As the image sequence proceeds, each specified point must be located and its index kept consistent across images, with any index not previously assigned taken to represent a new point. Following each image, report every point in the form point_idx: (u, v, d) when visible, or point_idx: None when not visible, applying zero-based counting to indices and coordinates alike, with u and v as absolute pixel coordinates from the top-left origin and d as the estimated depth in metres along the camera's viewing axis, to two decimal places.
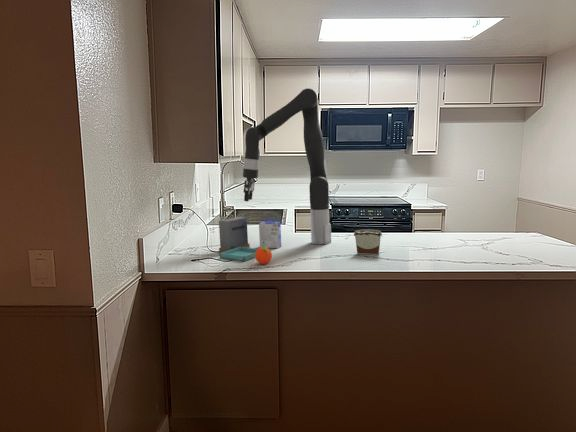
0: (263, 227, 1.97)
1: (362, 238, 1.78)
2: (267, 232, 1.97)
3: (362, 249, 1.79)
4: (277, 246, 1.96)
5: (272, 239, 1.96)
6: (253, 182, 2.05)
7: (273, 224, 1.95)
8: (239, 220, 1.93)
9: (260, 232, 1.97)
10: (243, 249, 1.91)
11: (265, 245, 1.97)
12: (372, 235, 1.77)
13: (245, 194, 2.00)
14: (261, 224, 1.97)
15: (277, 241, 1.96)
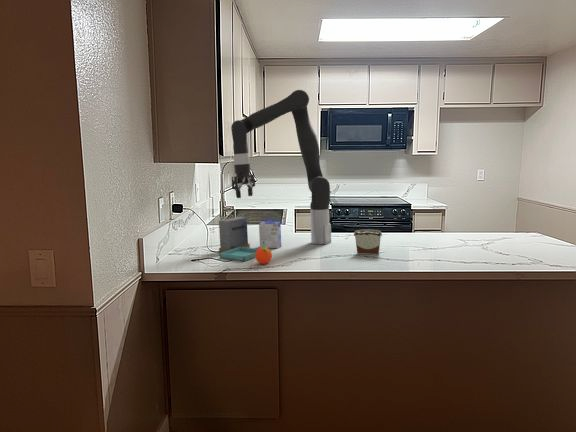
0: (263, 227, 1.97)
1: (362, 238, 1.78)
2: (267, 232, 1.97)
3: (362, 249, 1.79)
4: (277, 246, 1.96)
5: (272, 239, 1.96)
6: (246, 177, 1.96)
7: (273, 224, 1.95)
8: (239, 220, 1.93)
9: (260, 232, 1.97)
10: (243, 249, 1.91)
11: (265, 245, 1.97)
12: (372, 235, 1.77)
13: None
14: (261, 224, 1.97)
15: (277, 241, 1.96)
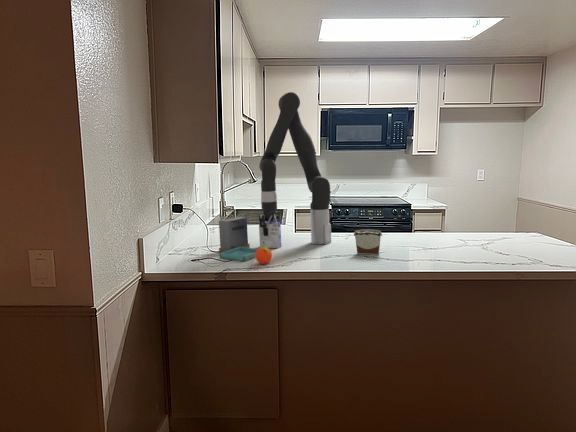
0: None
1: (362, 238, 1.78)
2: None
3: (362, 249, 1.79)
4: (277, 246, 1.96)
5: (272, 239, 1.96)
6: (273, 214, 1.97)
7: (273, 224, 1.95)
8: (239, 220, 1.93)
9: (260, 232, 1.97)
10: (243, 249, 1.91)
11: (265, 245, 1.97)
12: (372, 235, 1.77)
13: (263, 229, 1.95)
14: None
15: (277, 241, 1.96)
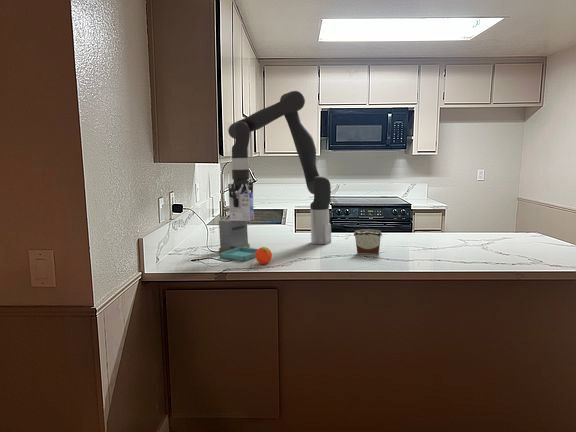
0: None
1: (362, 238, 1.78)
2: None
3: (362, 249, 1.79)
4: (248, 219, 1.78)
5: (243, 211, 1.79)
6: (245, 184, 1.79)
7: (244, 194, 1.78)
8: None
9: (230, 203, 1.79)
10: (243, 249, 1.91)
11: (235, 218, 1.80)
12: (372, 235, 1.77)
13: (233, 199, 1.77)
14: None
15: (248, 213, 1.78)
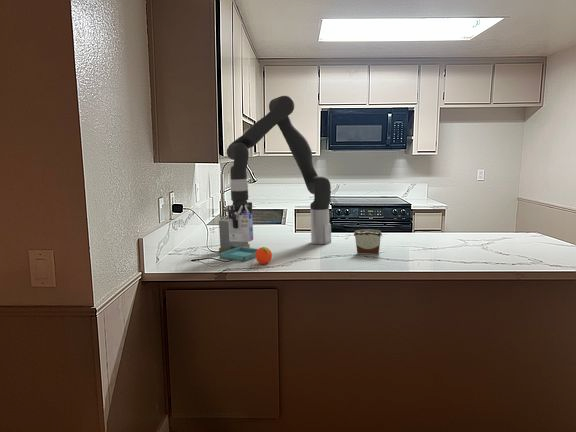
0: None
1: (362, 238, 1.78)
2: None
3: (362, 249, 1.79)
4: (248, 240, 1.78)
5: (243, 232, 1.78)
6: (244, 205, 1.79)
7: (243, 215, 1.77)
8: None
9: (229, 224, 1.79)
10: (243, 249, 1.91)
11: (235, 238, 1.79)
12: (372, 235, 1.77)
13: None
14: None
15: (248, 234, 1.78)
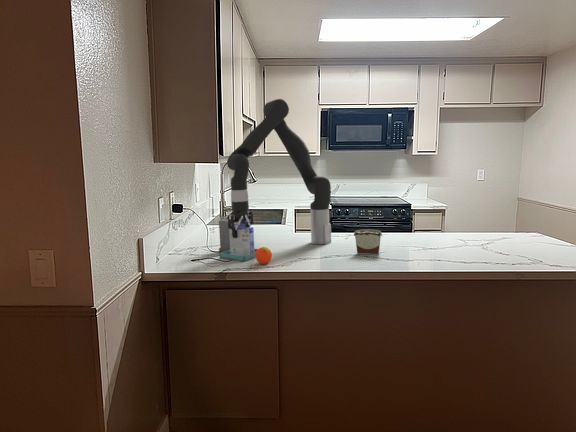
0: None
1: (362, 238, 1.78)
2: (238, 238, 1.80)
3: (362, 249, 1.79)
4: (248, 254, 1.79)
5: (243, 246, 1.79)
6: (244, 215, 1.80)
7: (244, 230, 1.78)
8: None
9: (230, 238, 1.81)
10: None
11: (236, 253, 1.81)
12: (372, 235, 1.77)
13: (232, 230, 1.77)
14: (231, 230, 1.80)
15: (248, 249, 1.79)
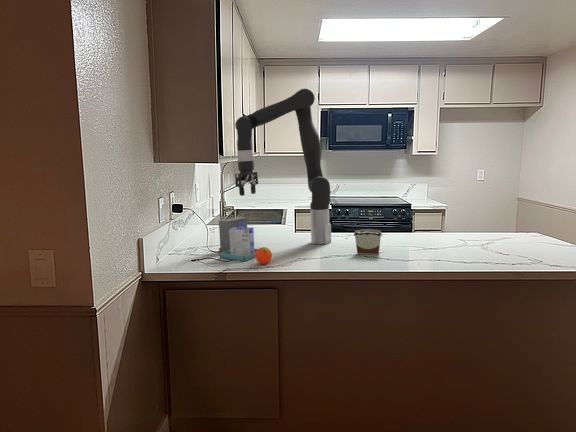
0: (233, 233, 1.80)
1: (362, 238, 1.78)
2: (238, 238, 1.80)
3: (362, 249, 1.79)
4: (248, 254, 1.79)
5: (243, 246, 1.79)
6: (250, 175, 1.93)
7: (244, 230, 1.78)
8: (239, 220, 1.93)
9: (230, 238, 1.81)
10: None
11: (236, 253, 1.81)
12: (372, 235, 1.77)
13: (239, 188, 1.90)
14: (231, 230, 1.80)
15: (248, 249, 1.79)
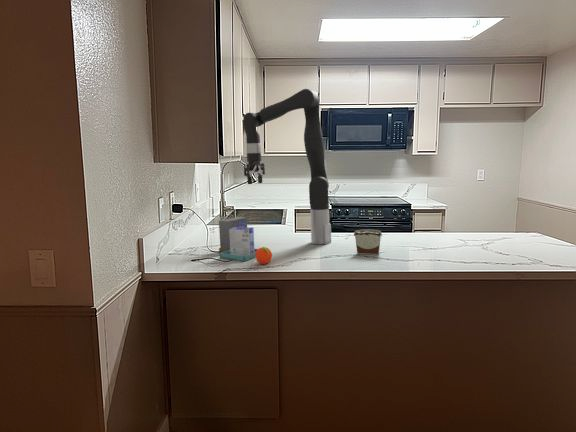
0: (233, 233, 1.80)
1: (362, 238, 1.78)
2: (238, 238, 1.80)
3: (362, 249, 1.79)
4: (248, 254, 1.79)
5: (243, 246, 1.79)
6: (257, 165, 2.12)
7: (244, 230, 1.78)
8: (239, 220, 1.93)
9: (230, 238, 1.81)
10: None
11: (236, 253, 1.81)
12: (372, 235, 1.77)
13: (247, 177, 2.10)
14: (231, 230, 1.80)
15: (248, 249, 1.79)
